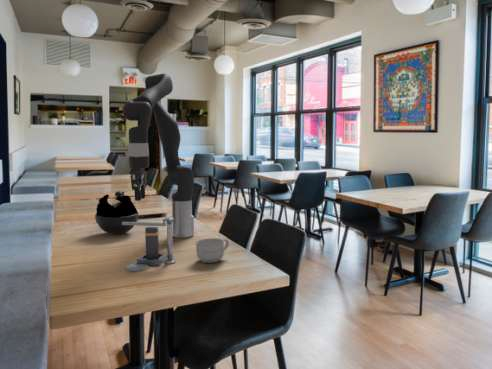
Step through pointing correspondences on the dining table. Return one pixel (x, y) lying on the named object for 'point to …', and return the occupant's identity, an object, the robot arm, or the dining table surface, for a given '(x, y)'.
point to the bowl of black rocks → (116, 215)
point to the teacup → (211, 249)
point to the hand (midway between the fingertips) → (140, 199)
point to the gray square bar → (149, 223)
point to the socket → (158, 261)
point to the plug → (152, 242)
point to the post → (169, 244)
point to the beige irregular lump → (117, 197)
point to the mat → (136, 267)
